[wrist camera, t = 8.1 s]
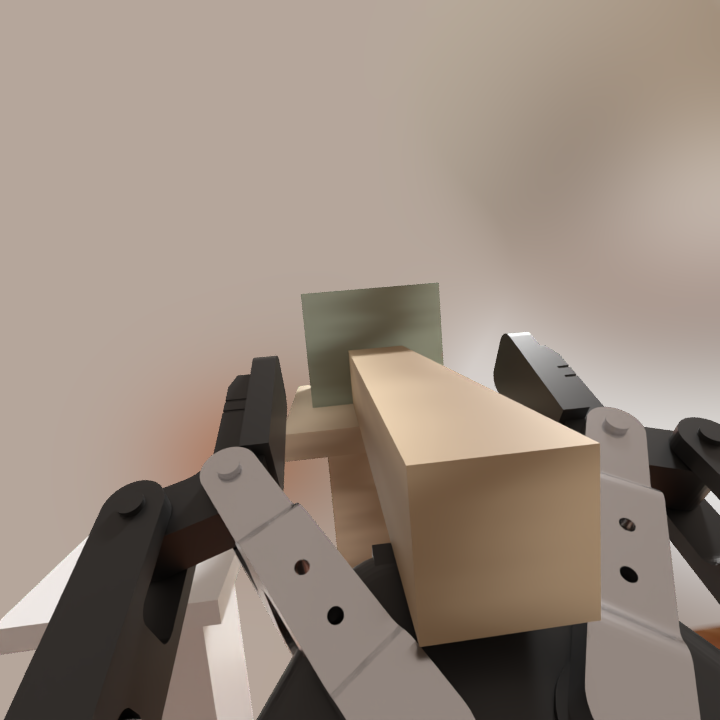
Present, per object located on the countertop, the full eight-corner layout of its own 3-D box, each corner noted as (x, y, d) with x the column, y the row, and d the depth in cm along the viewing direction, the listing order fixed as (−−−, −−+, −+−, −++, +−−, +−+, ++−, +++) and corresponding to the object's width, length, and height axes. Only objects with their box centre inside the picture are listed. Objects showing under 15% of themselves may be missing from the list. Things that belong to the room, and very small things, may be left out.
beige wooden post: (348, 1124, 18) (264, 441, 14) (340, 835, 28) (290, 385, 24) (540, 1080, 19) (518, 413, 14) (466, 812, 29) (440, 370, 24)
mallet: (275, 668, 5) (221, 251, 4) (315, 386, 23) (306, 297, 22) (729, 600, 5) (745, 211, 5) (419, 375, 23) (414, 288, 22)
